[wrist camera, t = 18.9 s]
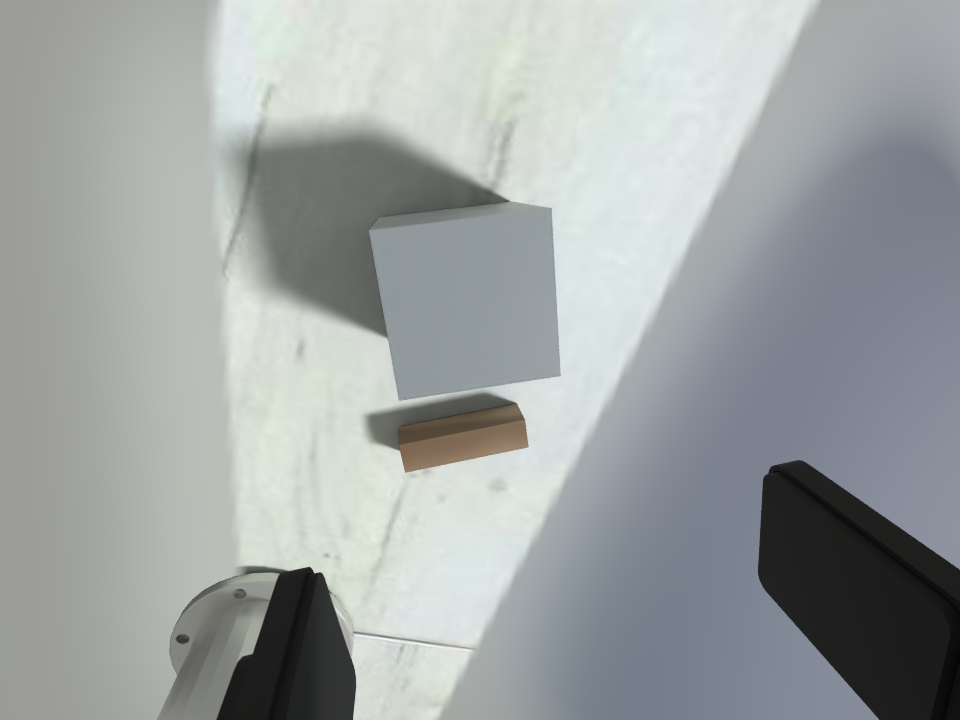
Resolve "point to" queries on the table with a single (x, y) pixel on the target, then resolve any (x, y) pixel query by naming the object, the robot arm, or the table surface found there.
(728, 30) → the table surface
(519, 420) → the strip
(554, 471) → the table surface
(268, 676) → the robot arm
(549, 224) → the matte grey cube
